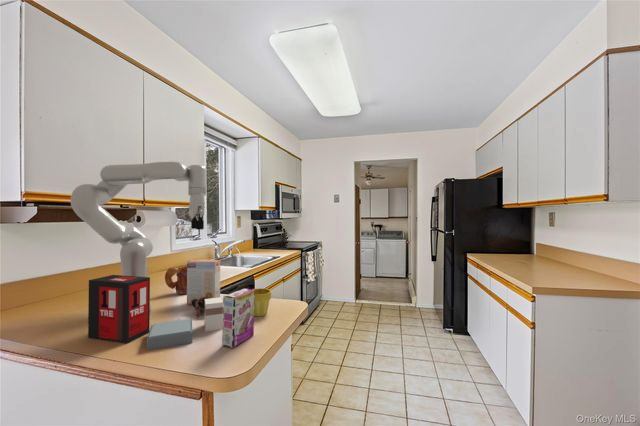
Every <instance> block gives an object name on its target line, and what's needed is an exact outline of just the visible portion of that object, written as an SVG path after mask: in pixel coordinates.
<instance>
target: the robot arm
mask: <svg viewBox="0 0 640 426" xmlns="http://www.w3.org/2000/svg"><path fill="white" fill-rule="evenodd" d="M99 174H100V175H99V176H100V179H101V181H100V182H99V183H97V184H93V183H83V184H80V185H78V186H76V187H75V188H74V189H73V190H72V193H71V195H70V206H71V208H72V211H74V213H75V214H76V216H77V217H79V219H81V220H82V221H83V222H85V224H87V226H89V227H90V228H91V229H92V230H93V231H94V232H96V233H97V234H98V236H100V237H101V238H103V239H104V240H105V241H106V242H107V243H109V244H112V245H113V244H114V245H115V244H116V245H117V244H119V245H120V246H121V248H120V252H119V259H120V264H121V265H120V266H121V267H120V269H121V275H122V276H137V277H149V276H148V274H149V273H148V272H149V271H148V256H150V255H151V253H152V252H153V249H154V248H153V243H152V241H151V240H150V239H149V238H148V237H147V236H146V235H144V233H142V232H141V231H140V230H139V229H138V228H137V227H135V226H134V225H133V224H132V223H130V222H127V221H122V220H121V221H119V220H118V219H117V218H115V217H114V216H113V215H112V214H111V213H110V212H108V211H107V210H106V209H105V208H103V207H102V206H103V205H105V204H107V203H109V202H110V201H112V200H113V199H114V198H115V197H116V196H117V195H118V194H120V193H121V191H123V189H125V187H126V186H128V185H139V184H141V185H143V184H149V183H151V182H152V181H158V180H159V181H160V180H174V181H177V182H187V184H188V187H187V189H188V190H187V193H188V196H189V204H188V209H189V210H188V215H189V217H190V218H191V219H190V222H191V223H190V225H191V226H190V229H195V230H196V231H197V230H204V227H205V224H204V223H205V220H204V215H205V196H207V168H206V166H204V165H200V164H191V165H189V166H187V165H184V164H183V163H181V162H179V161H157V162H156V161H155V162H147V163H136V164H135V163H133V164H108V165H105V166H104V167H102V168H101V170H100V171H99ZM101 205H102V206H101ZM151 310H152V306H151V305H150V311H151Z"/></svg>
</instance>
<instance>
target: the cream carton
mask: <svg viewBox="0 0 640 426" xmlns="http://www.w3.org/2000/svg"><path fill="white" fill-rule="evenodd" d="M204 310H205V314H204V320H203V321H204V322H203V323H204V331H205V332H211V331H219V330H223V300H222V297H221V296H220V297H219V298H210V299H205V305H204Z"/></svg>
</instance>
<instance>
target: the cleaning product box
mask: <svg viewBox="0 0 640 426" xmlns="http://www.w3.org/2000/svg"><path fill="white" fill-rule="evenodd" d="M150 293H151V277H149V276H148V277H137V276H122V274H121V275H120V274H110V275H106V276H102V277H96V278H93V279H88V304H87V305H88V309H87V310H88V312H87V313H88V315H87V316H88V317H87V318H88V319H87V320H88V321H87V323H88V324H87V327H88V329H87V338H88V339H90V340H98V341H105V342H114V343H121V344H130V343H132V342H133V341H136V340H137V339H140V338H141V337H143V336H146V335H149V332H150V318H151V317H150V314H151V313H150V312H151V310H150V306H151V303H150V300H151V296H150V295H151V294H150Z"/></svg>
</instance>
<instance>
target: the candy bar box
mask: <svg viewBox="0 0 640 426" xmlns="http://www.w3.org/2000/svg"><path fill="white" fill-rule="evenodd" d="M254 297H255V290H252V289H250V288H242V289H240V290H236V291H234V292H231V293H227V294H226V295H223V300H222V301H223V329H222V338H221V341H222V342H221V345H222V347H225V348H230V349H234V348H236V347H238V346H239V345H240V344H242V343H244V342H246V341H247V340H249V339H250V338H251V337H253V336H254V332H255V331H254V328H255V326H254V325H255V316H254Z"/></svg>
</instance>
